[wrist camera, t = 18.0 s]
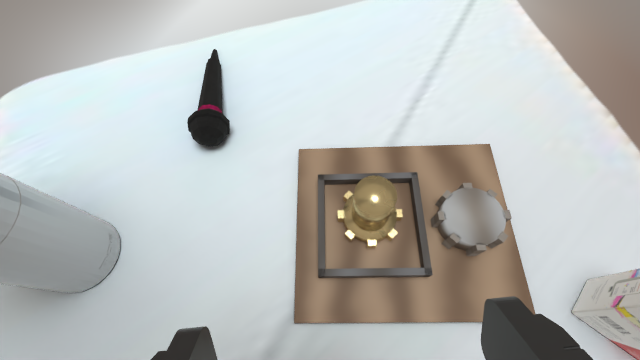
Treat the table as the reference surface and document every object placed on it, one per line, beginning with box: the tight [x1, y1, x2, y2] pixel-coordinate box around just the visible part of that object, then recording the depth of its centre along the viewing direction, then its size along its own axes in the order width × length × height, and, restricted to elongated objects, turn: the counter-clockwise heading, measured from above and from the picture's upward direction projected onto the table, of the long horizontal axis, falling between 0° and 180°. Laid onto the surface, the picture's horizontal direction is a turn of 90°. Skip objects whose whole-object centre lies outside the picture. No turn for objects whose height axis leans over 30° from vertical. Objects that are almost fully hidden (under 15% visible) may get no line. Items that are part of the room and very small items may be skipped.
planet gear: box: [338, 176, 403, 249], centre depth 36 cm, size 8×8×8 cm
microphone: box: [188, 49, 229, 146], centre depth 48 cm, size 6×6×20 cm
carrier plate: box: [294, 144, 535, 323], centre depth 38 cm, size 26×22×4 cm
